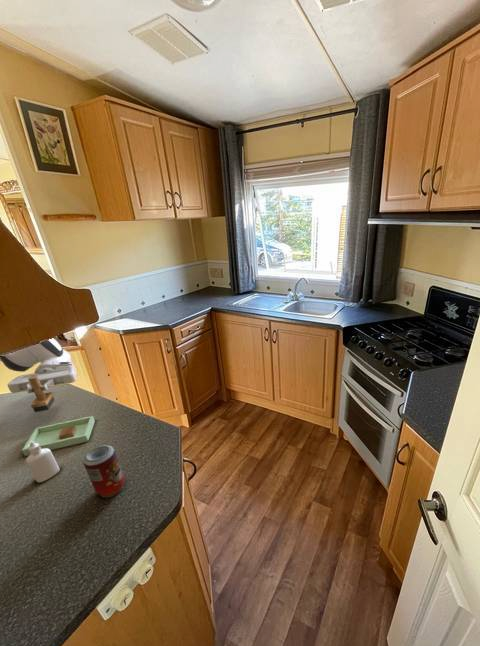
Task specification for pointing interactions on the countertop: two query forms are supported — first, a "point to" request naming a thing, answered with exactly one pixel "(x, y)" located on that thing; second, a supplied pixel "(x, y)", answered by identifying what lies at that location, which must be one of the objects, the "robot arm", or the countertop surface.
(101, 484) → the soda can
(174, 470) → the countertop surface
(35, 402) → the brush
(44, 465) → the eye dropper bottle
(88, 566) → the countertop surface
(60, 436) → the wooden block
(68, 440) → the tray
